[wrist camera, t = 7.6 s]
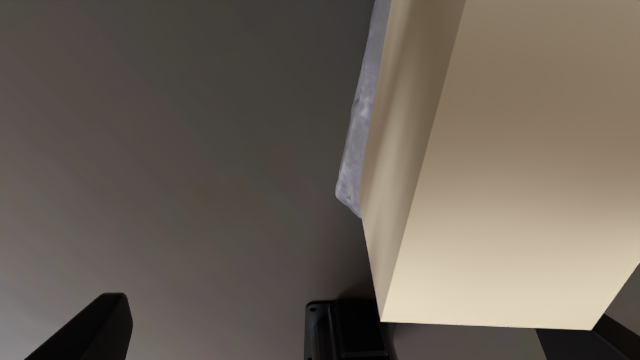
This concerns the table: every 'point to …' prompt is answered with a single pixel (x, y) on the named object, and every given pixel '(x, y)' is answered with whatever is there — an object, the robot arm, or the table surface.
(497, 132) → the ash brick
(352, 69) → the table surface
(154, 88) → the table surface
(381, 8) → the stone block
